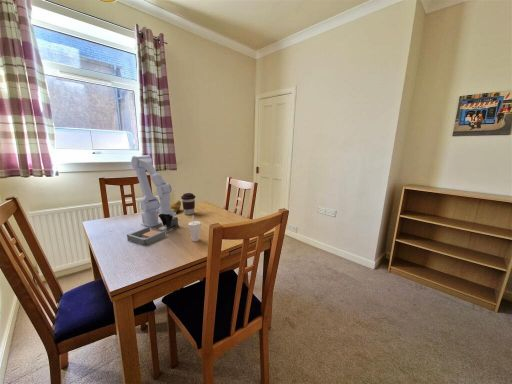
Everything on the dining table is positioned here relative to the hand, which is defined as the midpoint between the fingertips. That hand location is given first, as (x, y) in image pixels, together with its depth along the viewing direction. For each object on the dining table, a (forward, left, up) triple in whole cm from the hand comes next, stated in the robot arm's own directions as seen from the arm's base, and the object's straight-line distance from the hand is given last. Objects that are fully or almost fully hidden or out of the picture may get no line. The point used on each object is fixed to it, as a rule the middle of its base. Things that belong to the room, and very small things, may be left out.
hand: (166, 225), depth 130 cm
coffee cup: (-10, +30, -3) cm, 31 cm away
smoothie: (+25, -3, -3) cm, 25 cm away
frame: (0, -13, -2) cm, 14 cm away
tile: (0, -11, -3) cm, 11 cm away
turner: (0, +2, -2) cm, 3 cm away
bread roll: (-23, +27, -3) cm, 35 cm away
